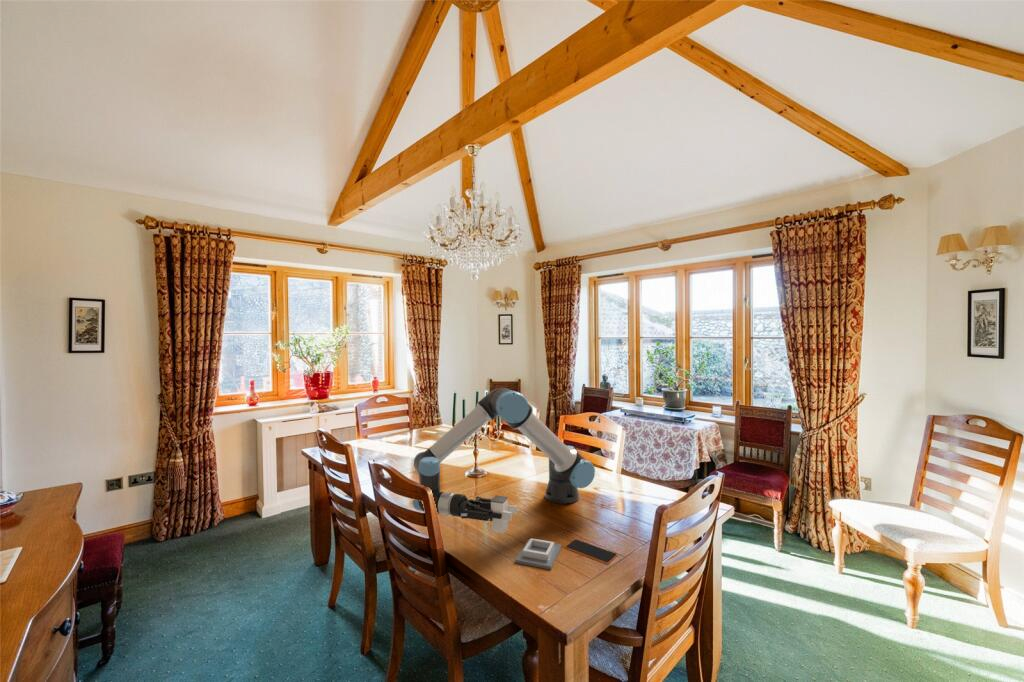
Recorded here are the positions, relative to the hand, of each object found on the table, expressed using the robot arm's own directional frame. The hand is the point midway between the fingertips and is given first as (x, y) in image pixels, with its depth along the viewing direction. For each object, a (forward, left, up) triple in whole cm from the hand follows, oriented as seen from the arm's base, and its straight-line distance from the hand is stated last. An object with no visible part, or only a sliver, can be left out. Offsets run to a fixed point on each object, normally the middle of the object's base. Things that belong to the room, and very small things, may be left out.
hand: (513, 513), depth 143 cm
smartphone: (-8, +25, -14) cm, 29 cm away
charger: (0, -5, -7) cm, 8 cm away
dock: (0, +9, -13) cm, 16 cm away
